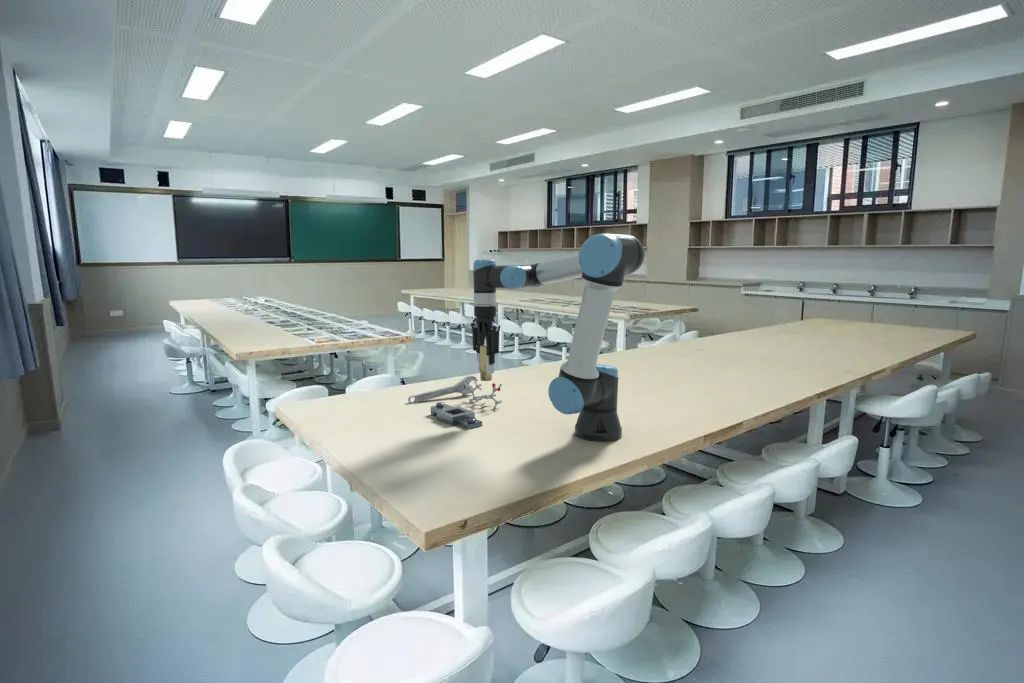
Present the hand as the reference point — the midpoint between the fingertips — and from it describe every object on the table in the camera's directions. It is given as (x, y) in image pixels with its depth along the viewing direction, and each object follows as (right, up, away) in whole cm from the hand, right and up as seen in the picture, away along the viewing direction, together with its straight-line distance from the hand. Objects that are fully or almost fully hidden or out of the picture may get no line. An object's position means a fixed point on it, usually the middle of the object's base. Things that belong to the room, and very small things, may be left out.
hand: (486, 372), depth 192 cm
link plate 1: (-13, -17, +5) cm, 22 cm away
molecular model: (-2, -14, +22) cm, 26 cm away
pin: (0, -3, 0) cm, 3 cm away
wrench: (-19, -13, +32) cm, 39 cm away
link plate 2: (-9, -17, 0) cm, 19 cm away
